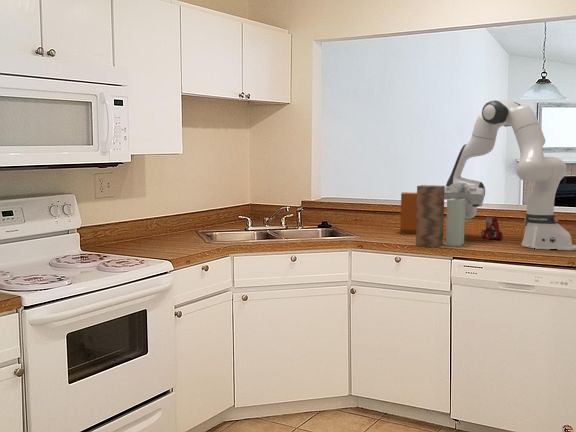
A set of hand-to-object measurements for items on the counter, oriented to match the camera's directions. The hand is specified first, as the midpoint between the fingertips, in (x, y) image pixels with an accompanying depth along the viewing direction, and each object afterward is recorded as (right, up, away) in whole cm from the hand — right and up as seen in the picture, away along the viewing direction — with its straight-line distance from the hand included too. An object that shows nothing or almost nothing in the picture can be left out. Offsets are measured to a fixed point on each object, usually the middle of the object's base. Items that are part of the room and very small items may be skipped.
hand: (459, 185), depth 306 cm
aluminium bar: (-1, -2, -3) cm, 4 cm away
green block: (-3, -26, -3) cm, 27 cm away
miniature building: (-16, -22, +35) cm, 44 cm away
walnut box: (-14, -26, -4) cm, 30 cm away
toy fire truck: (+19, -25, +15) cm, 35 cm away
